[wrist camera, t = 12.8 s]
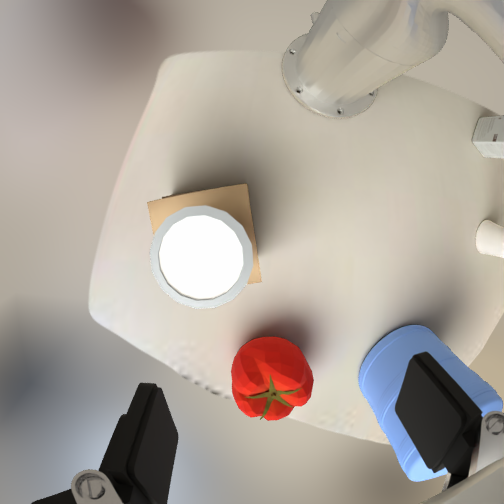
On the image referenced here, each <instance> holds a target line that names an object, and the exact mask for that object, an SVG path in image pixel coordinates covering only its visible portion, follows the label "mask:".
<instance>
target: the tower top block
mask: <svg viewBox="0 0 504 504" xmlns="http://www.w3.org/2000/svg"><path fill="white" fill-rule="evenodd" d="M147 204H148V209H149V214H150V220H151V224H152V229H153V234H155V232H156V231H157V229H158V228H159V227H160V226H161V224H162V223H163V222H164V220H165V219H166V218H167V217H168V216H170V215H172V214H174V213H175V212H177V211H179V210H181V209H183V208H185V207H192V206H204V205H207V206H210V207H213V208H216V209H219V210H222V211H225V212H227V213H228V214H229V215H231V216H232V217H233V218H234V219H235V220H236V221H237V222H239V223H240V224H241V225H242V226H243V228H244V230H245V232H246V234H247V236H248V238H249V240H250V242H251V244H252V253H253V268H252V271H251V274H250V277H249V279H248V282H247V284H252V283H258V282H262V280H261V273H260V267H259V260H258V254H257V247H256V241H255V234H254V228H253V221H252V215H251V209H250V202H249V196H248V189H247V184H246V183H245V184H238V185H232V186H226V187H220V188H215V189H209V190H203V191H198V192H193V193H188V194H183V195H177V196H173V197H168V198H163V199H159V200H154V201H150V202H147ZM168 296H169V295H168Z"/></svg>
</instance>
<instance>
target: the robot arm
mask: <svg viewBox="0 0 504 504" xmlns="http://www.w3.org/2000/svg"><path fill="white" fill-rule="evenodd" d="M448 12H449V13H452V14H453V15H454V16H456V17H457V18H459V19H460V20H461V21H462V22H463V23H464V24H466V25H467V26H468V27H469V28H470V29H471V30H472V31H473V32H475V33H476V34H477V35H478V36H479V37H480V38H481V39H482V40H483V41H484V42H485V43H486V44H487V45H488V46H489V47H490V48H491V49H492V50H493V52H494V53H495V54H496V55H497V56H498V57H499V58H500V60H501V61H502V62H503V63H504V0H327V1H326V3H325V5H324V7H323V8H322V10H321V12H320V13H317V12H316V13H312V14H311V18H312V22H313V26H312V27H311V29H310V31H309V33H308V34H305V35H302V36H300V37H298V38H297V39H296V40H294V41H293V42H292V43H291V44H290V46H289V47H288V48H287V50H286V52H285V54H284V58H283V61H282V73H283V78H284V81H285V83H286V86H287V87H288V89H289V91H290V92H291V94H292V95H293V96H294V97H295V98H296V100H297V101H298V102H300V103H301V104H302V105H303V106H304V107H306V108H307V109H309V110H311V111H312V112H314V113H317V114H319V115H322V116H325V117H329V118H338V119H342V118H350V117H353V116H356V115H358V114H360V113H362V112H363V111H365V110H366V109H367V108H368V107H369V106H370V105H371V104H372V103H373V101H374V99H375V97H376V95H377V89H378V88H379V87H381V86H382V85H384V84H386V83H387V82H389V81H391V80H393V79H394V78H396V77H398V76H400V75H401V74H403V73H405V72H407V71H408V70H410V69H412V68H414V67H416V66H418V65H419V64H421V63H423V62H425V61H427V60H429V59H431V58H432V57H434V56H435V55H436V54H437V53H438V52H440V50H441V49H442V48H443V46H444V44H445V42H446V39H447V35H448V25H449V20H448ZM290 53H292V54H293V55H292V54H290ZM296 91H299V92H300V93H297V92H296ZM369 94H370V95H369ZM337 111H339V112H340V114H339V113H338V112H337ZM395 412H396V414H397V416H398V418H399V419H400V421H401V423H402V425H403V426H404V428H405V430H406V431H407V433H408V435H409V437H410V438H411V440H412V442H413V443H414V445H415V447H416V449H417V450H418V452H419V454H420V456H421V458H422V459H423V461H424V463H425V465H426V466H427V468H428V469H432V471H433V473H436V472H438V471H440V470H442V469H444V468H446V469H447V471H448V472H447V476H446V479H445V483H444V486H443V490H442V492H441V493H439V494H437V495H435V496H433V497H431V498H430V499H427V500H425V501H423V502H421V503H419V504H504V413H502V412H500V411H491V412H488V413H487V414H486V415H485V416H484V417H482V415H481V414H482V413H483V412H482V411H481V410H480V408H479V407H478V406H477V405H476V404H475V403H474V401H473V400H472V399H471V398H470V397H469V396H468V395H467V393H466V392H465V391H464V390H463V389H462V388H461V387H460V386H459V385H458V383H457V382H456V381H455V380H454V379H453V378H452V377H451V376H450V375H449V374H448V373H447V371H446V370H445V369H444V368H443V367H442V366H441V365H440V364H439V363H438V362H437V361H436V360H435V359H434V358H433V357H432V355H431V354H430V353H428V352H426V351H425V352H422V353H418V354H415V355H413V356H412V359H410V360H409V363H408V366H407V370H406V373H405V377H404V380H403V383H402V386H401V389H400V392H399V395H398V398H397V401H396V404H395ZM177 444H178V432H177V429H176V427H175V424H174V422H173V419H172V416H171V414H170V411H169V408H168V405H167V402H166V399H165V397H164V394H163V391H162V389H161V388H158V387H157V385H156V384H154V383H153V384H152V383H140V384H139V385H138V388H137V390H136V392H135V395H134V397H133V400H132V402H131V404H130V407H129V409H128V412H127V414H123V415H122V416H121V417H120V419H119V421H118V423H117V426H116V428H115V430H114V433H113V435H112V438H111V440H110V443H109V445H108V448H107V450H106V453H105V455H104V458H103V460H102V463H101V465H100V468H99V471H97V470H90V469H89V470H84V471H82V472H79V473H78V474H77V475H76V476H75V477H74V478H73V480H72V483H71V489H69V490H67V491H64V492H61V493H58V494H55V495H52V496H49V497H46V498H43V499H40V500H37V501H35V502H33V503H32V504H167V500H168V494H169V488H170V482H171V476H172V470H173V465H174V460H175V454H176V449H177Z"/></svg>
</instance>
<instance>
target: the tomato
mask: <svg viewBox="0 0 504 504" xmlns="http://www.w3.org/2000/svg"><path fill="white" fill-rule="evenodd" d="M231 374H232V394H233V396H234V399H235V401H236V403H237V405H238V407H239V409H240V410H241V411H242V412H244V413H245V414H246V415H247V416H250V417H257V416H262V417H261V418H260V419H262V418H263V417H264V418H265V419H266V420H268V421H269V420H279V419H281V418H283V417H286V416H288V415H289V414H290V413H291V411H292V410H293V408H294V407H295V406H303V405H304V404H306V403H307V401H308V400H309V399H310V397H311V393H312V387H313V381H314V380H313V375H312V371H311V369H310V367H309V365H308V363H307V361H306V359H305V357H304V355H303V354H302V352H301V350H300V348H299V347H298V346H296V345H295V344H293V343H291V342H290V341H288V340H287V339H283V338H279V337H261V338H257V339H253V340H251V341H249V342H248V343H246V344H245V345H243V346H242V347H241V348H240V350H239V351H238V353H237V354H236V356H235V357H234V361H233V364H232V369H231Z"/></svg>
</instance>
